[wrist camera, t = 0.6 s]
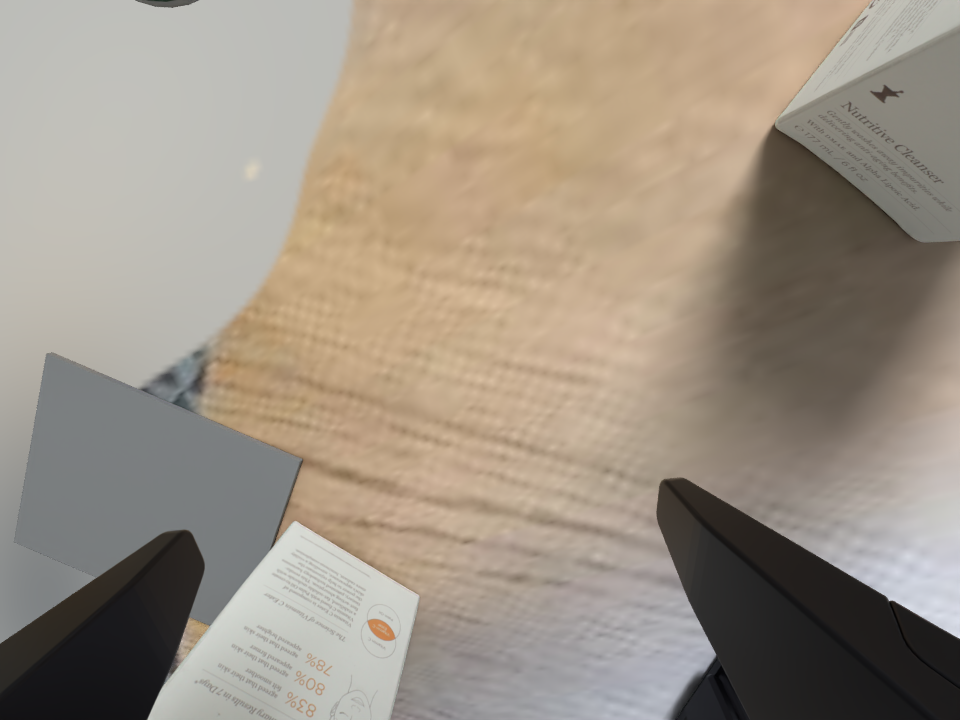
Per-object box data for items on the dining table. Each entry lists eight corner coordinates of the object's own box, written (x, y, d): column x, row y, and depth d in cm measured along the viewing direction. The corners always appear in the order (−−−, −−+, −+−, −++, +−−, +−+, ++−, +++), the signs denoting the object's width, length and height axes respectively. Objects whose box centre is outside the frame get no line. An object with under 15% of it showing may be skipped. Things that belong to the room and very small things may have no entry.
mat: (302, 459, 23) (299, 461, 23) (242, 634, 26) (239, 638, 26) (52, 352, 23) (46, 353, 23) (19, 539, 26) (13, 542, 26)
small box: (242, 598, 25) (-31, 954, 12) (295, 516, 24) (49, 821, 11) (365, 670, 26) (228, 1078, 13) (424, 595, 24) (335, 969, 12)
